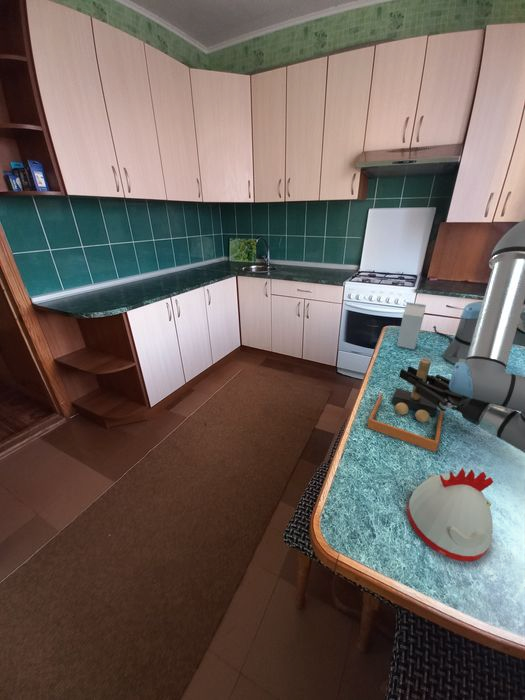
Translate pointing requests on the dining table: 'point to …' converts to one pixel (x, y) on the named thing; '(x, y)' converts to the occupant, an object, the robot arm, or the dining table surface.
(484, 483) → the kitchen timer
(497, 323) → the robot arm
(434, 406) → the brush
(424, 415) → the crumb
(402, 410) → the crumb
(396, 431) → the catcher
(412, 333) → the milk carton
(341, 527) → the dining table surface
